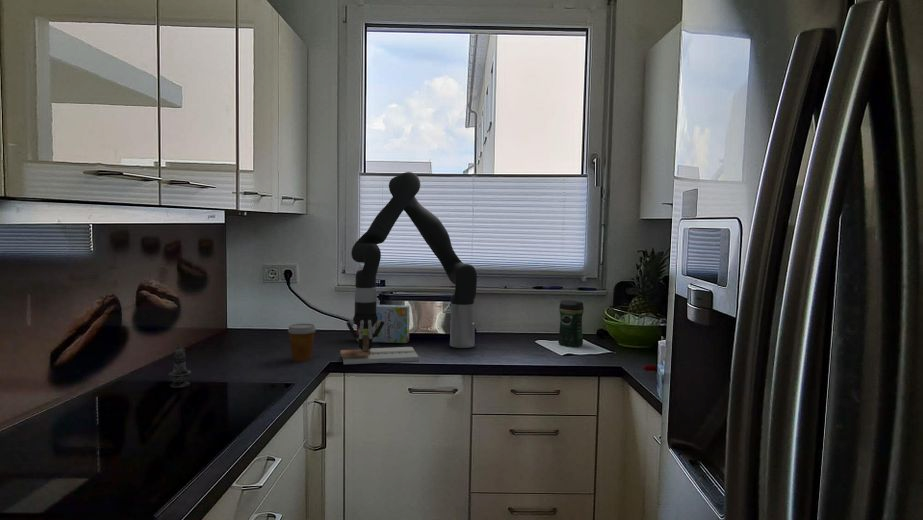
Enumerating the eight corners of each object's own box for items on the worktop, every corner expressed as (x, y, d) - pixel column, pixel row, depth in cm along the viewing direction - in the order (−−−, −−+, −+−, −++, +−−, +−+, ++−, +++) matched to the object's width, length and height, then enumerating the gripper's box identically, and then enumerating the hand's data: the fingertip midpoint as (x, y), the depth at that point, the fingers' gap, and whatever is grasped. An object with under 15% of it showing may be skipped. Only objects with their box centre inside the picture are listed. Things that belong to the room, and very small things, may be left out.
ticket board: (412, 352, 196) (412, 346, 196) (418, 360, 184) (418, 354, 183) (342, 355, 190) (342, 349, 189) (343, 364, 177) (343, 357, 177)
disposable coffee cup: (321, 357, 186) (321, 324, 185) (305, 364, 177) (305, 329, 176) (298, 355, 189) (299, 322, 188) (281, 361, 180) (281, 327, 179)
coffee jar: (585, 345, 214) (587, 300, 213) (575, 348, 208) (577, 302, 207) (565, 341, 221) (566, 298, 219) (555, 344, 215) (556, 299, 214)
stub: (369, 351, 185) (369, 333, 185) (370, 355, 180) (370, 337, 180) (340, 353, 183) (340, 334, 182) (340, 356, 177) (340, 337, 177)
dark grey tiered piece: (174, 381, 154) (173, 341, 153) (194, 381, 154) (194, 342, 154) (164, 388, 148) (163, 346, 147) (185, 387, 148) (185, 346, 148)
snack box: (409, 341, 216) (409, 305, 216) (406, 343, 211) (407, 307, 210) (359, 339, 218) (360, 303, 218) (355, 341, 213) (356, 305, 212)
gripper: (384, 298, 186) (383, 345, 187) (345, 298, 183) (344, 347, 184) (386, 301, 179) (386, 350, 180) (345, 301, 176) (345, 352, 177)
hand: (365, 348), depth 182 cm, fingers closed on stub, 2 cm apart
